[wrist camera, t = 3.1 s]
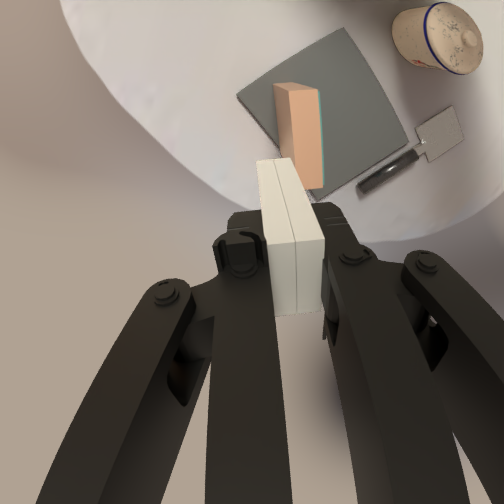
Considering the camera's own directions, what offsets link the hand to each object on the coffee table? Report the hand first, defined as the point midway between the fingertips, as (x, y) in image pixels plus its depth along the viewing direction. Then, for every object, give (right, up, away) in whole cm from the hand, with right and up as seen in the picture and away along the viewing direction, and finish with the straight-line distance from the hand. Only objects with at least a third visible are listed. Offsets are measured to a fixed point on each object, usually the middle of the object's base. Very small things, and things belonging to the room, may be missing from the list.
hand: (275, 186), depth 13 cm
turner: (+23, +12, +22) cm, 34 cm away
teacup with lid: (+22, +26, +13) cm, 36 cm away
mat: (+9, +14, +20) cm, 26 cm away
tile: (+3, +13, +20) cm, 24 cm away
